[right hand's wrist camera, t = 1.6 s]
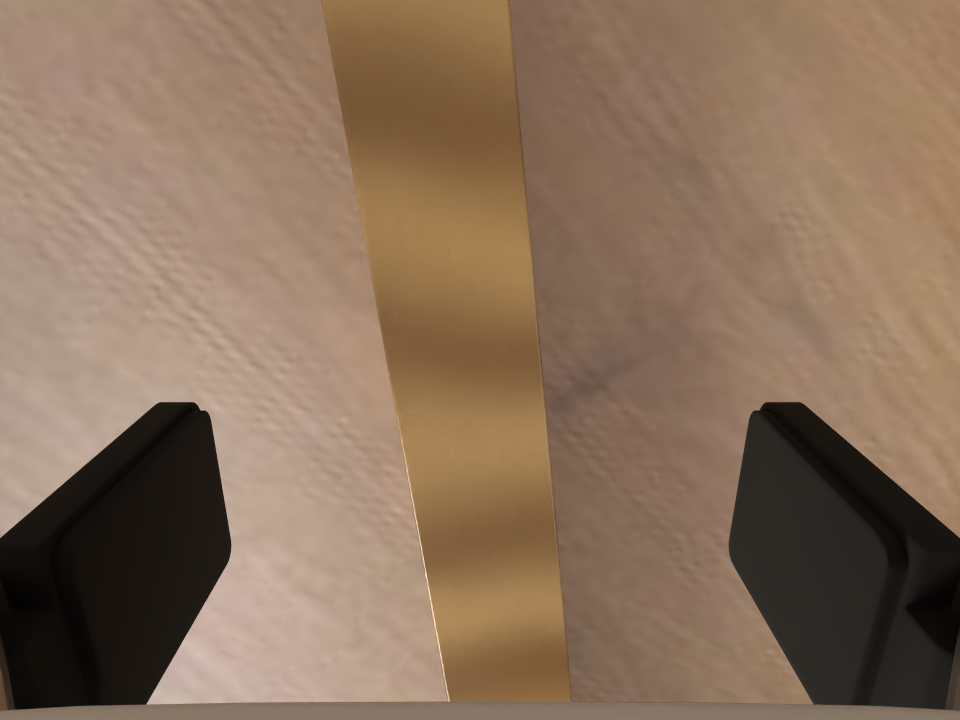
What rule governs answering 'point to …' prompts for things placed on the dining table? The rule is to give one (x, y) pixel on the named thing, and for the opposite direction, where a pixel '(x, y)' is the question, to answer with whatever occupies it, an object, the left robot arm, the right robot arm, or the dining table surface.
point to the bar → (459, 327)
